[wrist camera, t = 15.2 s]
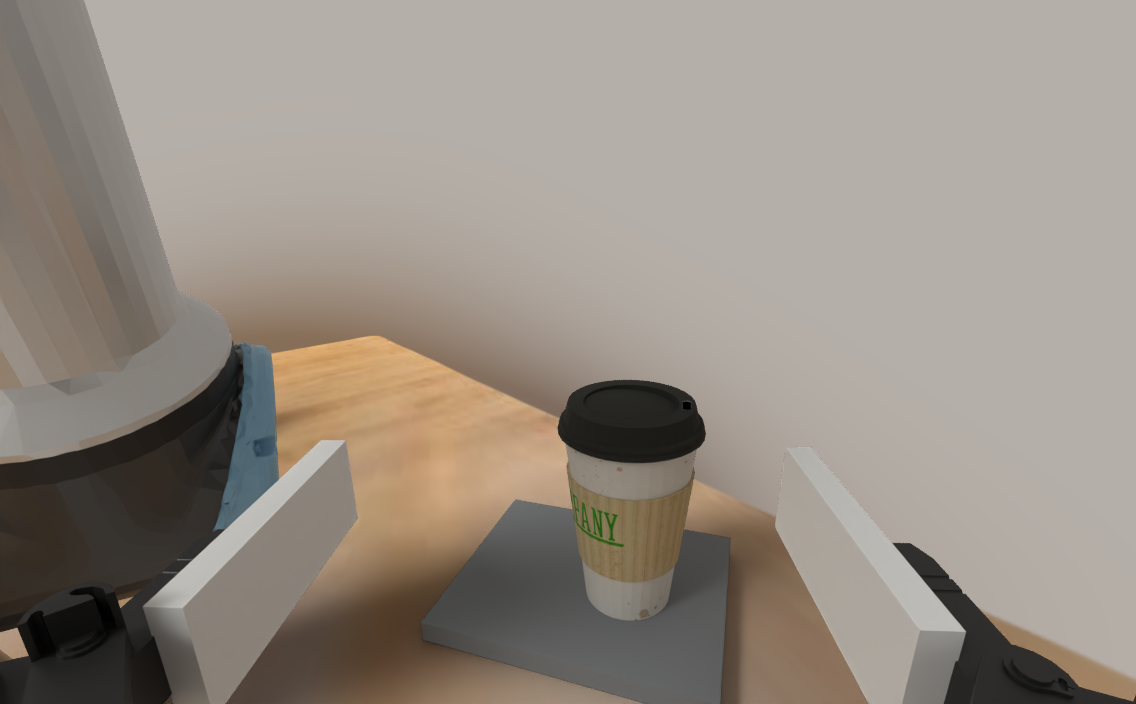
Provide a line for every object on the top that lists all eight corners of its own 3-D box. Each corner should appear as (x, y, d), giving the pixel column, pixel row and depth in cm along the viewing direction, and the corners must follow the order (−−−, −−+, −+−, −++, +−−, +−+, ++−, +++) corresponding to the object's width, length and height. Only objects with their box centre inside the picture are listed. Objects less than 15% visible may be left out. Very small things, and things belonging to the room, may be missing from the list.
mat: (422, 639, 37) (420, 622, 36) (515, 512, 51) (515, 499, 51) (718, 724, 30) (720, 704, 30) (729, 552, 45) (730, 537, 45)
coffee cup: (576, 539, 45) (574, 373, 40) (694, 555, 43) (705, 381, 38) (546, 628, 36) (539, 425, 31) (695, 654, 33) (709, 440, 29)
